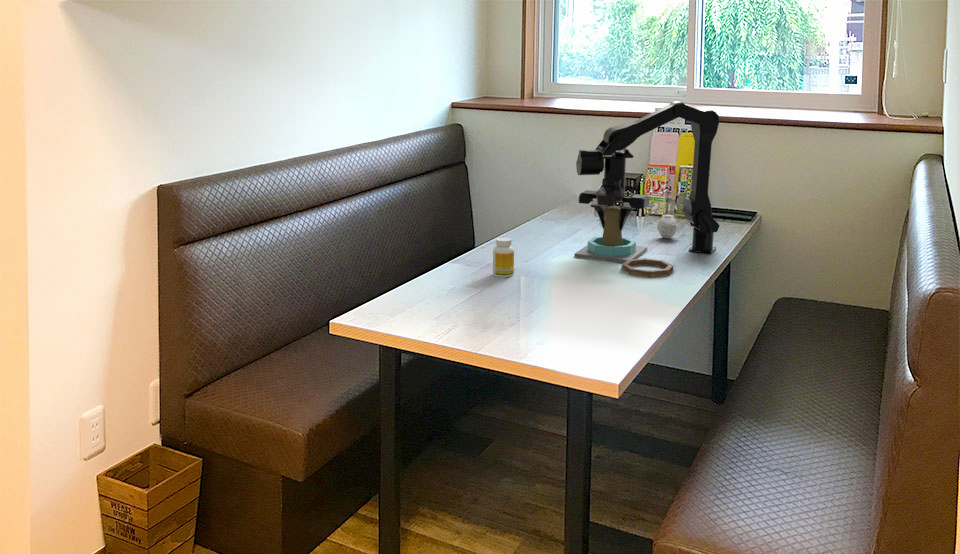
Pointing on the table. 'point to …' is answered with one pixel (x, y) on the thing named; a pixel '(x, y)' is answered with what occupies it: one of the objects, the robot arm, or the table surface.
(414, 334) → the table surface
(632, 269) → the walnut ring
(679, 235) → the table surface
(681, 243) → the table surface
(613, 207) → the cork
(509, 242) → the supplement bottle
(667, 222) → the frog figurine
